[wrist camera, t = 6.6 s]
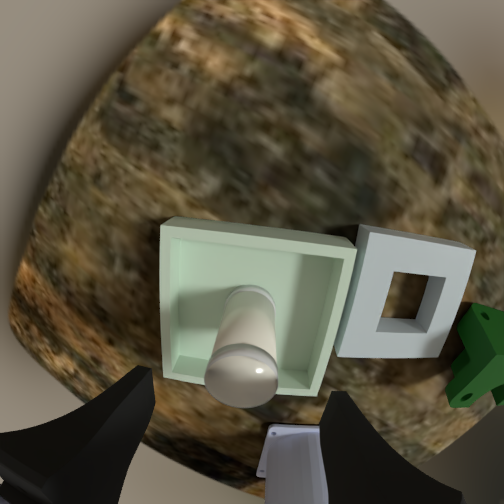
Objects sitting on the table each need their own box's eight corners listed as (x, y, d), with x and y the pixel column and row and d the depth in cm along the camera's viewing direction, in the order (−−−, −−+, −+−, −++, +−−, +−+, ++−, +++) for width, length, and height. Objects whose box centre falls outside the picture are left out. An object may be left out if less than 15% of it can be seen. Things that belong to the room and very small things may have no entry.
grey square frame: (427, 342, 19) (438, 357, 17) (332, 339, 19) (337, 356, 17) (460, 242, 17) (476, 250, 15) (359, 224, 17) (369, 231, 15)
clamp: (430, 328, 24) (425, 399, 16) (464, 279, 21) (479, 344, 13) (508, 372, 20) (516, 439, 13) (543, 331, 17) (565, 396, 10)
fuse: (271, 331, 19) (272, 411, 12) (223, 325, 19) (203, 402, 12) (279, 287, 18) (284, 359, 11) (227, 281, 18) (205, 349, 11)
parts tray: (312, 373, 20) (316, 396, 18) (173, 355, 20) (163, 377, 18) (345, 237, 17) (357, 249, 15) (174, 216, 17) (160, 225, 15)
